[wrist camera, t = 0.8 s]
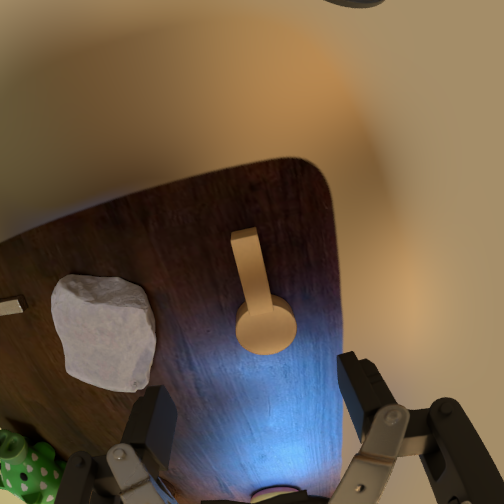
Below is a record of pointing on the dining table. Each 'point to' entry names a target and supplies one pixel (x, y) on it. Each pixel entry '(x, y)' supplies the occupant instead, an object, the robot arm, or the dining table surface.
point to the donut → (271, 493)
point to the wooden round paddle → (259, 301)
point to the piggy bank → (29, 468)
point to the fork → (13, 305)
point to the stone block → (105, 331)
